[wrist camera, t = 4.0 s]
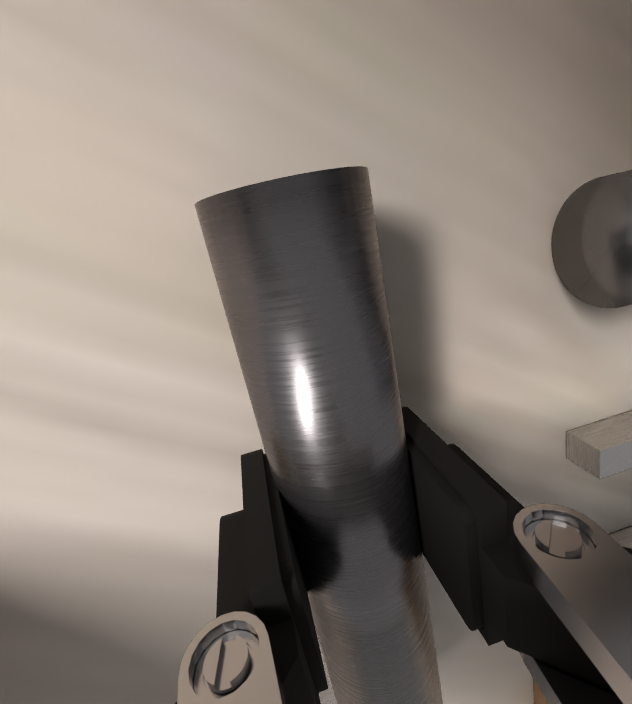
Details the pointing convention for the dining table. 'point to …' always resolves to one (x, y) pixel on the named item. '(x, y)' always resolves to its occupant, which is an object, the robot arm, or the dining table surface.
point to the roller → (330, 418)
